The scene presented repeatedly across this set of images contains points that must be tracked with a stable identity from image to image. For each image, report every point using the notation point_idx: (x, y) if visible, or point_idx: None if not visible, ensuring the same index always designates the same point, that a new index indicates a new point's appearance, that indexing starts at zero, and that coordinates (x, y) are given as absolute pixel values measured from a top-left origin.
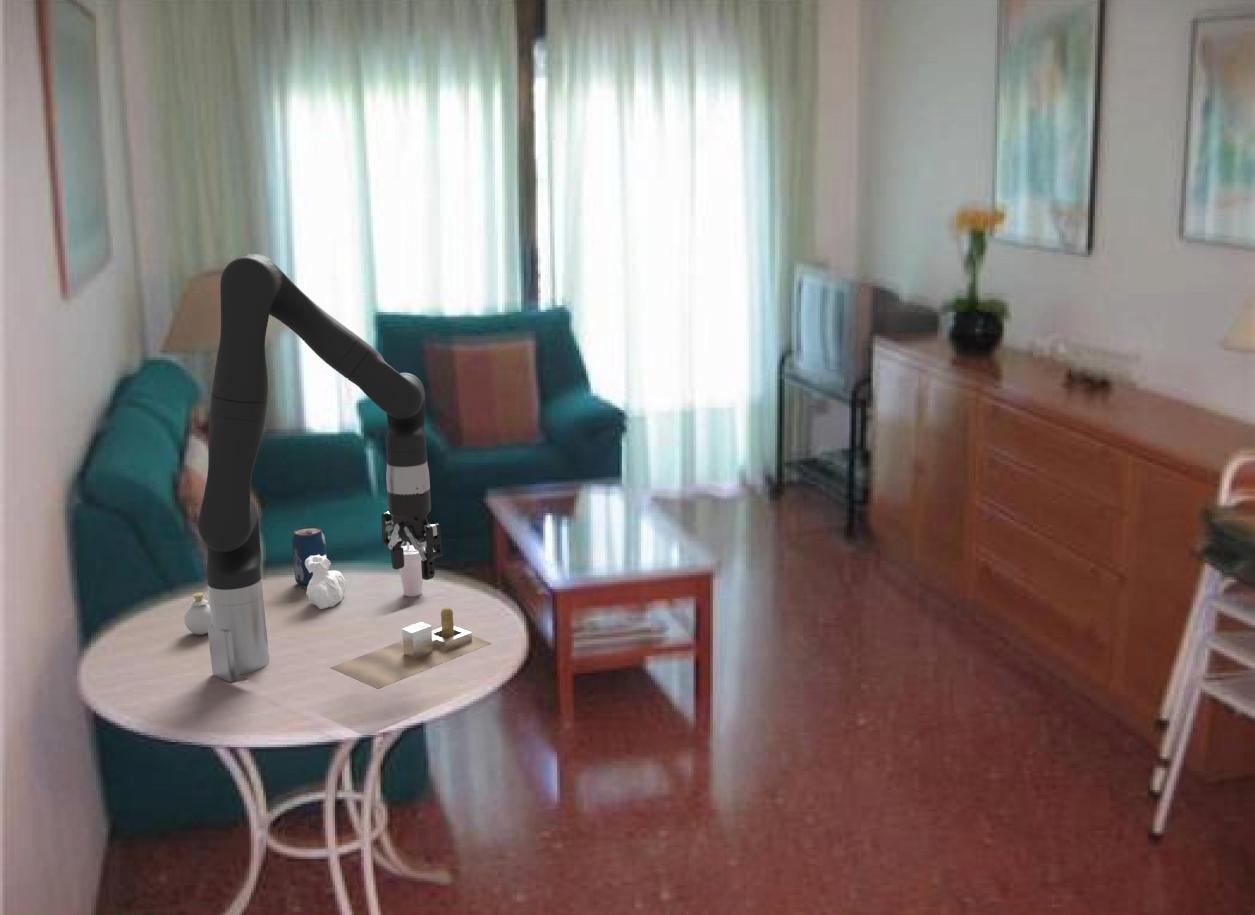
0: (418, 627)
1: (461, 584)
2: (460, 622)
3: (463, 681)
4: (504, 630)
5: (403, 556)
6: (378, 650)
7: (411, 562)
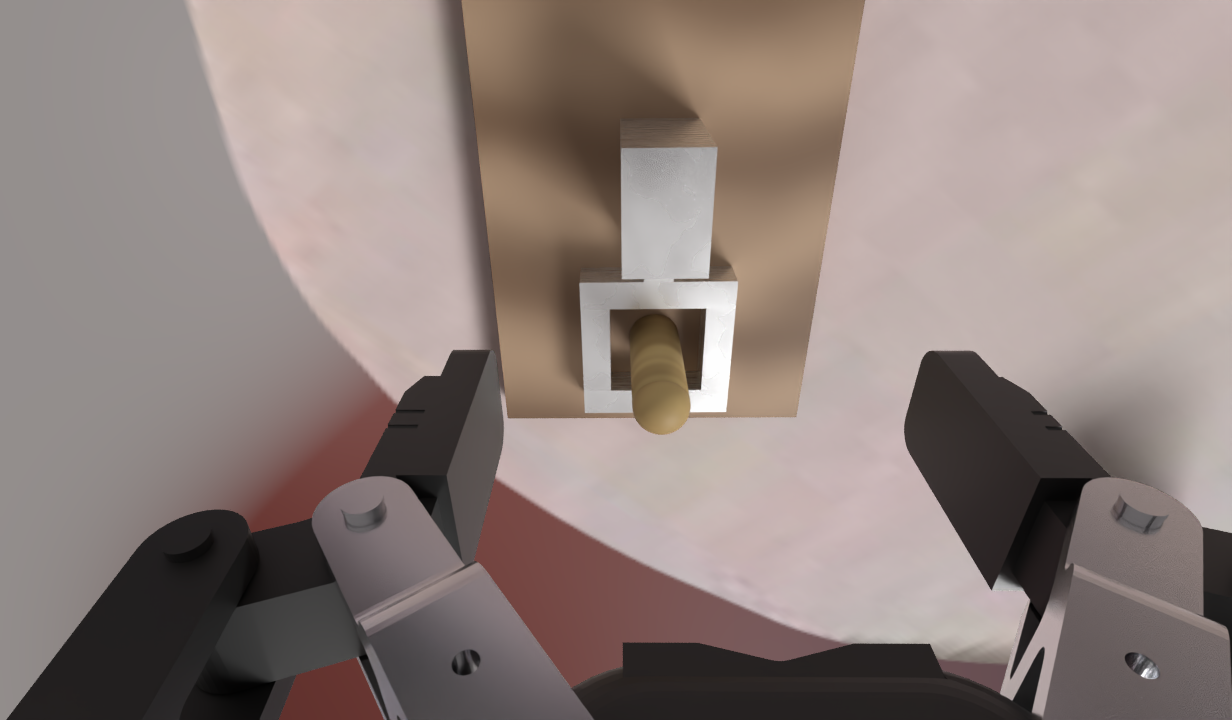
0: (656, 220)
1: None
2: (804, 483)
3: (329, 149)
4: (624, 520)
5: (945, 508)
6: (844, 64)
7: None
